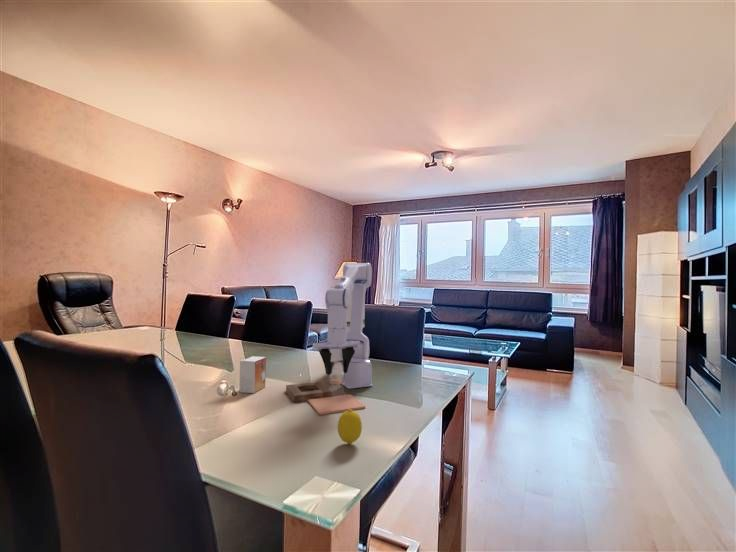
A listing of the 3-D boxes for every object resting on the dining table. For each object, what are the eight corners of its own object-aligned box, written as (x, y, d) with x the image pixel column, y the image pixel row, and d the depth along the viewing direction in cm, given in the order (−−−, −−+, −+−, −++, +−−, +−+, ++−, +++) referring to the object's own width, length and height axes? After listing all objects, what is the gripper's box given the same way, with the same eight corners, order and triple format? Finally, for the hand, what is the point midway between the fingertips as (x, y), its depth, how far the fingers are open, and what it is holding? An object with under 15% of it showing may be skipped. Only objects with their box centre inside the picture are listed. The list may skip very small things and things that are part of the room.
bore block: (320, 387, 127) (320, 381, 127) (331, 397, 116) (331, 391, 116) (286, 391, 122) (286, 385, 122) (294, 402, 111) (294, 395, 111)
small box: (254, 393, 119) (255, 361, 119) (238, 392, 120) (239, 360, 120) (266, 386, 127) (266, 356, 127) (251, 385, 128) (251, 355, 128)
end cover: (339, 379, 113) (340, 358, 113) (346, 383, 109) (347, 361, 109) (325, 381, 111) (326, 359, 111) (331, 385, 107) (332, 363, 107)
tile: (350, 396, 118) (350, 394, 118) (365, 408, 107) (365, 406, 107) (308, 401, 112) (308, 399, 112) (319, 414, 101) (319, 412, 101)
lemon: (337, 439, 86) (337, 405, 86) (360, 438, 86) (361, 405, 86) (337, 450, 80) (337, 414, 80) (362, 449, 81) (362, 413, 81)
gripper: (317, 330, 103) (317, 378, 103) (364, 328, 109) (363, 374, 109) (311, 327, 110) (310, 372, 109) (355, 325, 116) (354, 368, 115)
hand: (336, 373), depth 110 cm, fingers closed on end cover, 5 cm apart
